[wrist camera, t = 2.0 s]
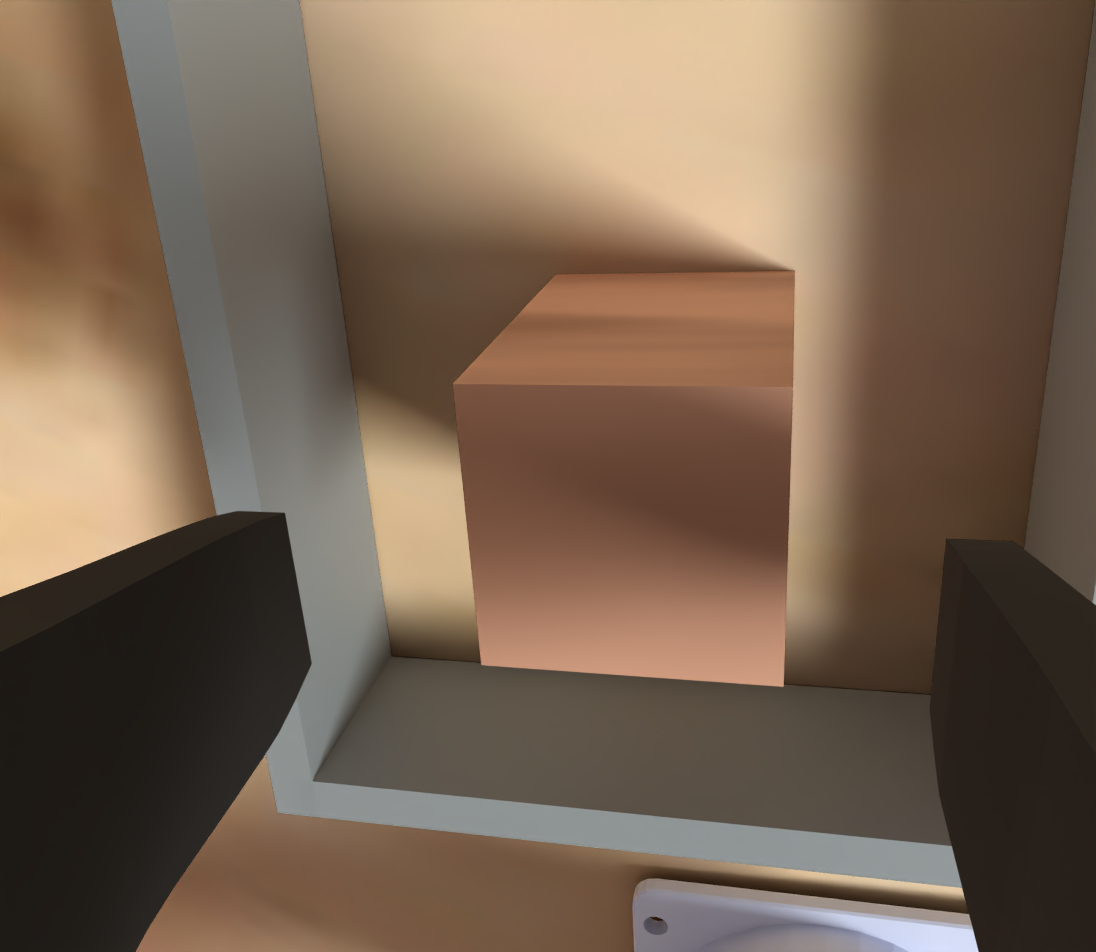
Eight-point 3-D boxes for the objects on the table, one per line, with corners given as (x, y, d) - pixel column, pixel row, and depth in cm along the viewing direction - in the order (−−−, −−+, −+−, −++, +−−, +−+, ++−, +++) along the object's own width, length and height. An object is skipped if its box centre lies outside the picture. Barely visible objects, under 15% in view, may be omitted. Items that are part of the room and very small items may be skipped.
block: (787, 493, 19) (783, 686, 13) (568, 486, 20) (481, 665, 14) (794, 270, 17) (792, 387, 12) (555, 274, 18) (452, 383, 13)
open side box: (1046, 739, 19) (1102, 903, 16) (361, 685, 22) (277, 812, 19) (1170, -89, 14) (1297, -125, 10) (251, -12, 17) (107, -20, 14)
